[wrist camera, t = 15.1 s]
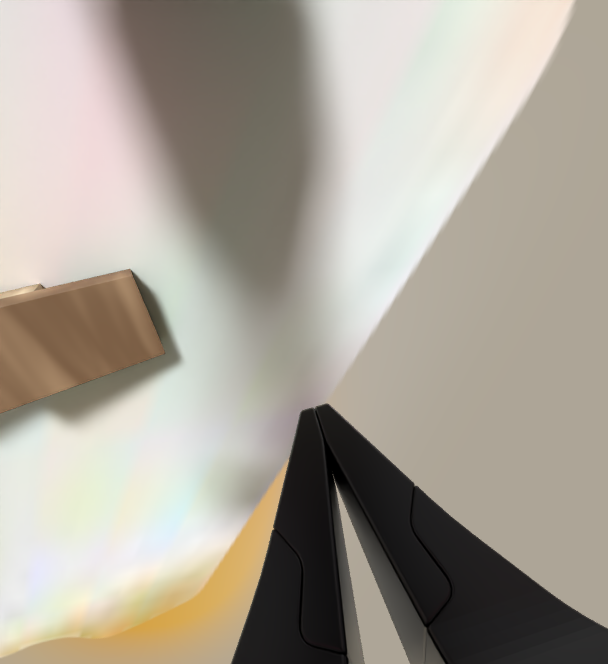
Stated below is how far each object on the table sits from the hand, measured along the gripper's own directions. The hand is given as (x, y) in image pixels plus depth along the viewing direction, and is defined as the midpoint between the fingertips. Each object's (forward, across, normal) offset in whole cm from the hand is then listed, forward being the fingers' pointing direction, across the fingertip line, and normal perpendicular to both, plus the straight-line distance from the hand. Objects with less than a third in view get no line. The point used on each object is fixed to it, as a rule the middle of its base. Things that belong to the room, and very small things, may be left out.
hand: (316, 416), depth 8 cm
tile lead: (+11, +8, -1) cm, 14 cm away
